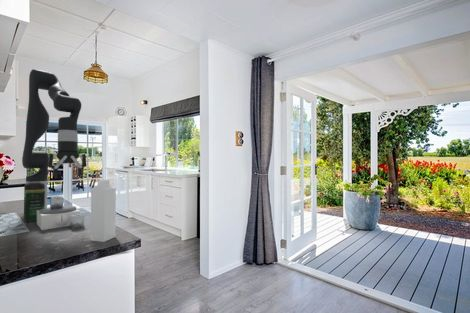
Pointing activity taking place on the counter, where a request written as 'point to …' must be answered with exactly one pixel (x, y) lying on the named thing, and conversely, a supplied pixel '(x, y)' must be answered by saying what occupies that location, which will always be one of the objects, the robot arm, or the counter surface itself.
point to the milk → (103, 211)
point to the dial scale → (55, 217)
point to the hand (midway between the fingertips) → (68, 177)
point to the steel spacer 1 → (56, 202)
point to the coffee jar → (33, 200)
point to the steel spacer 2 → (77, 221)
